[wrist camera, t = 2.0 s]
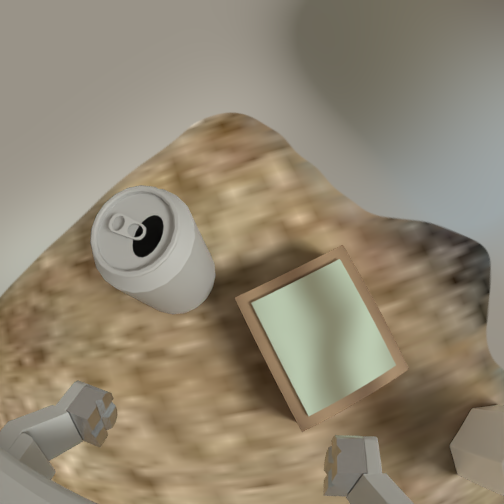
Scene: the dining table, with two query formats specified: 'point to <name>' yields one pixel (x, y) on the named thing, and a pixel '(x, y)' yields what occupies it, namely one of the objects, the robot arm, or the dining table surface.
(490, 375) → the dining table surface
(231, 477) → the dining table surface
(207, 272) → the can
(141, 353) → the dining table surface
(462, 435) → the jar
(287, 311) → the picture frame
